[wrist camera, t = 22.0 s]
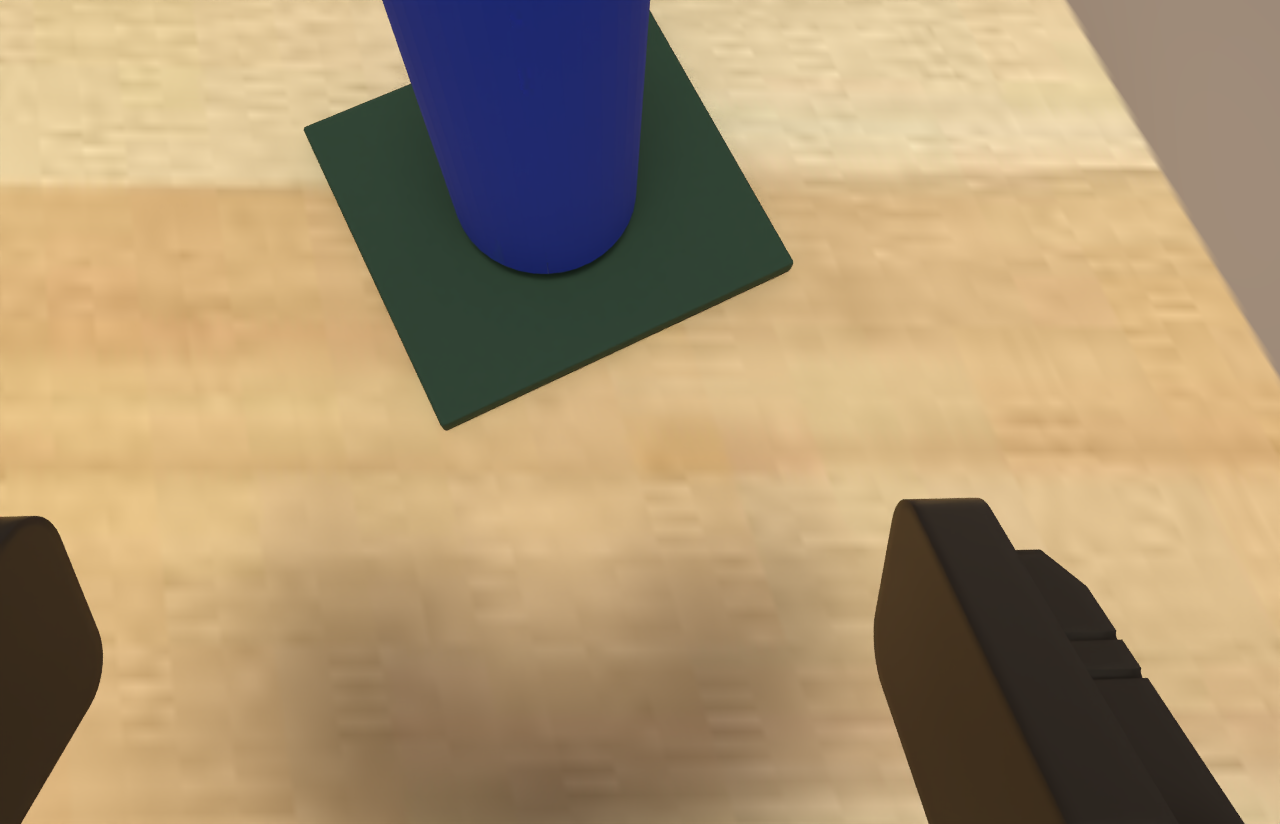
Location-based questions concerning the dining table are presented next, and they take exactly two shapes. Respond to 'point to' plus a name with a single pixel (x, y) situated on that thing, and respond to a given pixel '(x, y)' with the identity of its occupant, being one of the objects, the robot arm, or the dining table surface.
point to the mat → (544, 303)
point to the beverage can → (531, 119)
